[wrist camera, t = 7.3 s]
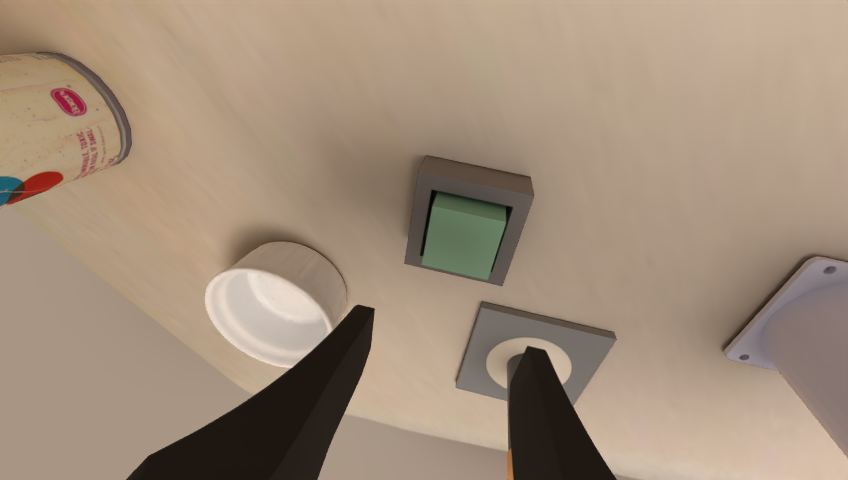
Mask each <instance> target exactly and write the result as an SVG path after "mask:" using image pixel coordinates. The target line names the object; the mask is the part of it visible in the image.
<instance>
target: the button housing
mask: <svg viewBox="0 0 848 480" xmlns="http://www.w3.org/2000/svg"><path fill="white" fill-rule="evenodd" d="M438 191H442V192H446V193H451V194H456V195H460V196H465V197H470V198H474V199H479V200H483V201H488V202H493V203H497V204H502V205H506V224H505V228H504V231H503V234H502V237H501V240H500V243H499V246H498V249H497V252H496V256H495V259H494V262H493V265H492V268H491V271H490V274H489V277H488V280H485V279H481V278H476V277H472V276H468V275H463V274H459V273H455V272H450V271H446V270H442V269H438V268H433V267H429V266H425V265H422V260H423V255H424V250H425V244H426V239H427V233H428V228H429V223H430V217H431V212H432V206H433V203H434V201H435V198H436V195H437V192H438ZM533 198H534V192H533V187H532V182H531V177H528V176H523V175H519V174H514V173H509V172H504V171H499V170H495V169H490V168H485V167H480V166H476V165H471V164H466V163H461V162H456V161H452V160H447V159H442V158H437V157H433V156H428V155H427V156H426V158H425V160H424V162H423V163H422V165H421V167H420V169H419V171H418V177H417V183H416V190H415V197H414V203H413V210H412V216H411V223H410V230H409V236H408V243H407V250H406V256H405V263H404V264H408V265H412V266H417V267H421V268H425V269H430V270H434V271H438V272H443V273H447V274H451V275H456V276H460V277H464V278H469V279H473V280H477V281H482V282H486V283H490V284H494V285H499V286H503V283H504V280H505V277H506V275H507V272H508V269H509V266H510V263H511V260H512V258H513V255H514V252H515V249H516V246H517V244H518V241H519V238H520V235H521V232H522V229H523V227H524V224H525V221H526V218H527V215H528V213H529V210H530V207H531V204H532V201H533Z"/></svg>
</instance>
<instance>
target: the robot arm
mask: <svg viewBox="0 0 848 480" xmlns="http://www.w3.org/2000/svg"><path fill="white" fill-rule="evenodd" d="M827 267H829V268H827ZM826 268H827V269H826ZM824 269H825V270H824ZM374 311H375V309H374V308H370V307H366V306H362V305H356V306H355V307H354V308H353V309H352V310H351V311H350V312H349V314H348V315H347V316H346V317H345V318H344V319H343V320H342V321H341V322H340V323H339V325H338V326H337V327H336V328H335V329H334V330H333V331H332V332H331V333H330V334H329V335H328V336H327V337H326V338H325V339H323V340H322V341H321V342H320V343H319V344H318V345H317V346H316V347H315V348H314V349H313V350H312V351H311V352H309V353H308V354H307V355H306V356H305V357H304V358H303V359H301V360H300V361H299V362H298V363H297V364H296V365H294V366H293V367H292V368H291V369H289V370H288V371H287V372H286V373H284V374H283V375H282V376H281V377H279V378H278V379H277V380H275V381H274V382H273V383H271V384H270V385H269V386H267V387H266V388H264V389H263V390H261V391H260V392H259V393H257V394H256V395H254V396H253V397H251V398H250V399H248V400H247V401H245V402H244V403H242V404H241V405H239V406H238V407H236V408H234V409H233V410H231V411H230V412H228V413H226V414H225V415H223V416H221V417H219V418H218V419H216V420H214V421H213V422H211V423H209V424H208V425H206V426H204V427H203V428H201V429H199V430H197V431H195V432H194V433H192V434H190V435H188V436H186V437H184V438H182V439H180V440H178V441H176V442H174V443H173V444H170V445H169V446H167V447H165V448H163V449H161V450H159V451H157V452H155V453H153V454H151V455H149V456H148V457H147V458H146V459H145V460H144V461H143V462H142V463H141V464H140V466H139V467H138V468H137V469H136V470H134V472H133V473H132V474H131V475H130V476H129V477H128V478H127V479H126V480H317V479H318V476H319V473H320V471H321V467H322V465H323V462H324V460H325V457H326V454H327V451H328V448H329V446H330V444H331V441H332V439H333V436H334V434H335V432H336V430H337V428H338V425H339V423H340V421H341V419H342V417H343V415H344V412H345V410H346V408H347V406H348V404H349V402H350V399H351V397H352V395H353V393H354V391H355V388H356V386H357V384H358V382H359V380H360V377H361V375H362V372H363V369H364V367H365V364H366V361H367V358H368V355H369V352H370V348H371V341H372V331H373V321H374ZM724 354H725V356H726V357H727V358H728V359H730V360H733V361H737V362H742V363H746V364H750V365H754V366H759V367H763V368H767V369H771V370H775V371H779V373H780V374H781V375H782V376H783V378H784V379H785V380H786V381H787V383H788V384H789V385H790V386H791V388H792V389H793V390H794V391H795V393H796V394H797V395H798V396H799V398H800V399H801V400H802V401H803V403H804V404H805V405H806V406H807V408H808V409H809V410H810V412H811V413H812V414H813V415H814V417H815V418H816V419H817V420H818V422H819V423H820V424H821V425H822V427H823V428H824V429H825V430H826V432H827V433H828V434H829V435H830V437H831V438H832V439H833V440H834V442H835V443H836V444H837V445H838V447H839V448H840V449H841V450H842V452H843V453H844V454H845V455H846V457H847V458H848V262H844V261H839V260H835V259H830V258H825V257H813V258H811V259H808V260H807V261H806V262H805V263H804V264H803V265H802V266H801V267H800V268H799V269H798V271H797V272H796V273H795V274H794V275H793V276H792V277H791V278H790V279H789V280H788V281H787V282H786V284H785V285H784V286H783V287H782V288H781V289H780V290H779V291H778V292H777V293H776V294H775V296H774V297H773V298H772V299H771V300H770V301H769V302H768V303H767V304H766V305H765V306H764V307H763V309H762V310H761V311H760V312H759V313H758V314H757V315H756V316H755V317H754V318H753V319H752V321H751V322H750V323H749V324H748V325H747V326H746V327H745V328H744V329H743V330H742V331H741V332H740V334H739V335H738V336H737V337H736V338H735V339H734V340H733V341H732V342H731V343H730V344H729V345H728V347H727V348H726V349H725V350H724ZM509 424H510V439H511V453H512V468H513V480H617V479H616V478H615V476H614V475H613V473H612V472H611V470H610V469H609V467H608V466H607V464H606V463H605V461H604V460H603V458H602V456H601V455H600V453H599V452H598V450H597V448H596V447H595V445H594V443H593V442H592V440H591V438H590V437H589V435H588V433H587V431H586V430H585V428H584V426H583V424H582V422H581V421H580V419H579V417H578V415H577V413H576V411H575V409H574V407H573V406H572V404H571V402H570V400H569V398H568V396H567V394H566V392H565V390H564V388H563V386H562V384H561V382H560V380H559V377H558V375H557V373H556V371H555V369H554V367H553V364H552V362H551V360H550V358H549V356H548V353H547V352H546V350H544V349H540V348H536V347H531V346H527V347H526V350H525V352H524V354H523V356H522V358H521V360H520V363H519V365H518V367H517V369H516V371H515V373H514V376H513V378H512V380H511V382H510V397H509Z"/></svg>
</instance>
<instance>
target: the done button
mask: <svg viewBox="0 0 848 480" xmlns="http://www.w3.org/2000/svg"><path fill="white" fill-rule="evenodd" d="M505 224H506V205H502V204H497V203H493V202H488V201H483V200H479V199H474V198H470V197H465V196H460V195H456V194H451V193H446V192H442V191H438V192H437V195H436V198H435V201H434V203H433V206H432V212H431V217H430V223H429V228H428V233H427V239H426V244H425V250H424V255H423V260H422V265H425V266H429V267H433V268H438V269H442V270H446V271H450V272H455V273H459V274H463V275H468V276H472V277H476V278H481V279H485V280H488V277H489V274H490V271H491V268H492V265H493V262H494V259H495V256H496V252H497V249H498V246H499V243H500V240H501V237H502V234H503V231H504V228H505Z"/></svg>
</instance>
